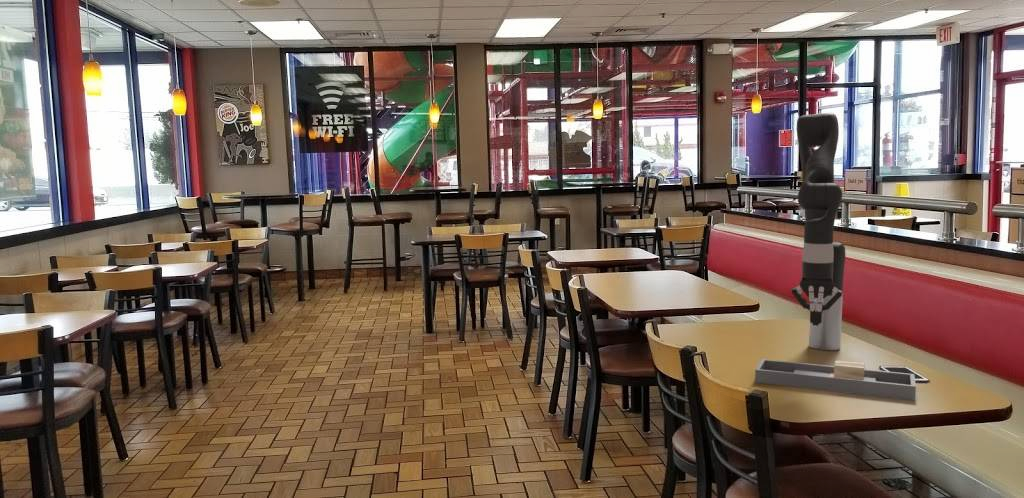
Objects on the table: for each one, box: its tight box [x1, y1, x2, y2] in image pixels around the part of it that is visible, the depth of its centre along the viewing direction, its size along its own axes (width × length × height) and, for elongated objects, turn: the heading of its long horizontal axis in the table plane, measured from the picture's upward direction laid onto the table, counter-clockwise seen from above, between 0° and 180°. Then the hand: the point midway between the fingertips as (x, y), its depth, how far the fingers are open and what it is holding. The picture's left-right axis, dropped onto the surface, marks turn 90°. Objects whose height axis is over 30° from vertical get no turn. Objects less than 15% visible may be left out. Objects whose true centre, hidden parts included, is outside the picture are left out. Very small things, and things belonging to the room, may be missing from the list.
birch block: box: [833, 360, 866, 380], centre depth 202 cm, size 5×7×4 cm
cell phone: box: [878, 365, 931, 384], centre depth 213 cm, size 8×15×1 cm, turn 177°
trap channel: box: [754, 358, 917, 401], centre depth 204 cm, size 12×38×4 cm, turn 64°
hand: (815, 324), depth 205 cm, fingers closed
